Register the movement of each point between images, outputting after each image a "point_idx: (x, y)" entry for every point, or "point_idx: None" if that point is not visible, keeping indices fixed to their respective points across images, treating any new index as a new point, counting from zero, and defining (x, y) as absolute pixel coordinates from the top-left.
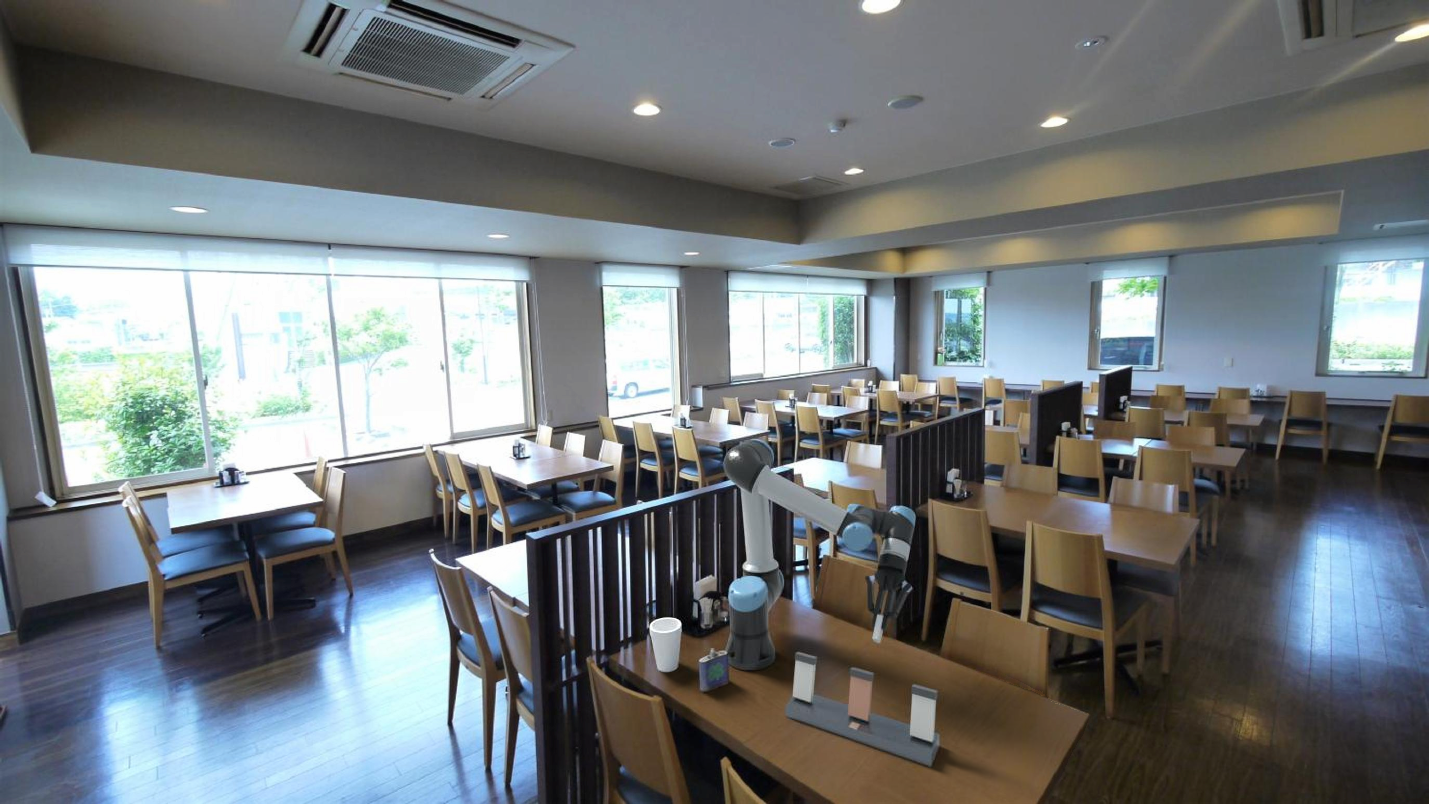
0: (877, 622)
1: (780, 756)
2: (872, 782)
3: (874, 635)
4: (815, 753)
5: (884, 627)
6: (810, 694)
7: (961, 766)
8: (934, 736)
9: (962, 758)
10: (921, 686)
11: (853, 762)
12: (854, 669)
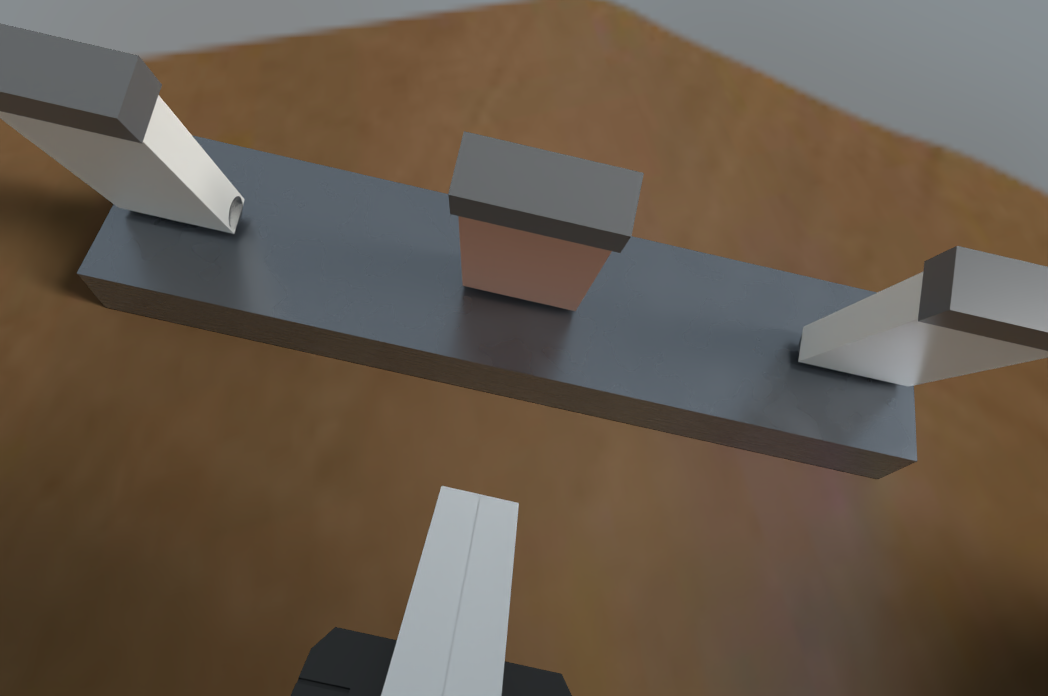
0: (468, 671)
1: (780, 104)
2: (421, 56)
3: (494, 523)
4: (662, 143)
5: (338, 647)
6: (825, 317)
7: (26, 200)
8: (110, 248)
9: (4, 250)
10: (56, 100)
11: (506, 129)
12: (608, 180)
